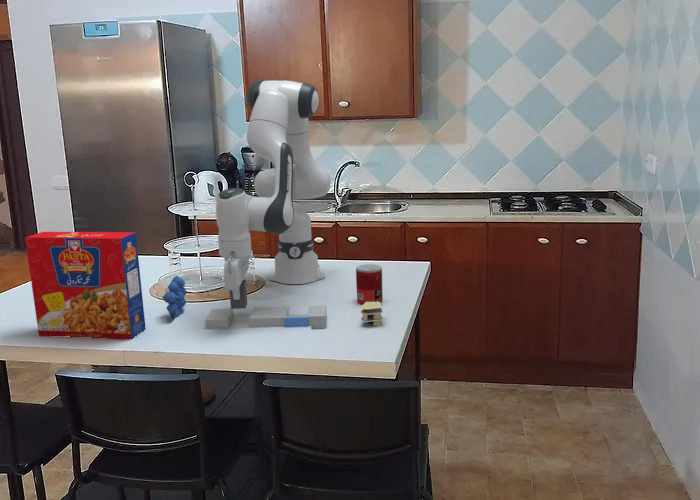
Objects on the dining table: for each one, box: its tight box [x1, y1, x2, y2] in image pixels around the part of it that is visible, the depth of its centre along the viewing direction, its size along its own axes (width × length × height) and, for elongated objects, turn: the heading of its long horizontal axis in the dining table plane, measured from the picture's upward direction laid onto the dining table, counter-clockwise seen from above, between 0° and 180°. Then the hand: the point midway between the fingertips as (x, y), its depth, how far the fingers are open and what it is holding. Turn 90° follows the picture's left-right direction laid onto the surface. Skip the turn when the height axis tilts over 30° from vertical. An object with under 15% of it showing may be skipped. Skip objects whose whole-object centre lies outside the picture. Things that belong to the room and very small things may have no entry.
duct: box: [202, 304, 328, 330], centre depth 195 cm, size 11×34×4 cm, turn 91°
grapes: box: [162, 275, 188, 320], centre depth 204 cm, size 12×7×12 cm, turn 173°
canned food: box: [355, 263, 383, 306], centre depth 212 cm, size 8×8×11 cm
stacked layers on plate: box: [360, 302, 383, 327], centre depth 193 cm, size 10×9×6 cm
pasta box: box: [24, 231, 147, 340], centre depth 190 cm, size 28×8×28 cm, turn 79°
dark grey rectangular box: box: [229, 279, 248, 310], centre depth 194 cm, size 4×4×7 cm
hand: (238, 295), depth 195 cm, fingers closed on dark grey rectangular box, 4 cm apart
